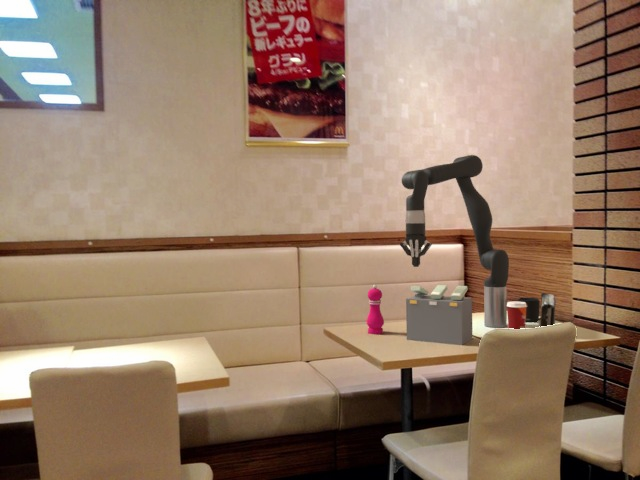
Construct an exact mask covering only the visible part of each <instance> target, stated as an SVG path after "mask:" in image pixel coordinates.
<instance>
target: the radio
mask: <svg viewBox="0 0 640 480" xmlns="http://www.w3.org/2000/svg"><path fill="white" fill-rule="evenodd" d="M540 301H541V304H540V316H539V320H538V322H537V328H538V327H539V326H540V327H541V326H547V325H553V324H555V325H556V317H555V316H556V297H555V296H554V294H551V293H545V292H541V298H540Z"/></svg>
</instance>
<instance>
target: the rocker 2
mask: <svg viewBox="0 0 640 480" xmlns="http://www.w3.org/2000/svg"><path fill="white" fill-rule="evenodd" d="M447 290H448V285H447V284H437V285H436V287H435V288H434V289H433V290H432V291H431V293H430V294H429V295H430V297H431V298H435V299H440V298H441V297H442V296H443V295H445V293H446V292H447Z"/></svg>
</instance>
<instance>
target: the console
mask: <svg viewBox="0 0 640 480" xmlns="http://www.w3.org/2000/svg"><path fill="white" fill-rule="evenodd" d="M405 302H406V303H405V304H406V305H405V307H406V309H405V310H406V311H405V314H406V316H405V317H406V318H405V319H406V340H407V341H417V342H419V341H420V342H427V343H435V344H447V345H456V346H463V345H464V344H467V343H468V342H469V341H471V340H472V339H473V297H465V296H463V297H462V299H461V300H452V299H451V297H450V295H449V296H448V295H445V294H443V296H442V297H441V298H440V299H435V298H431V297H430V294H428V295H424V294H417V293H415V294H414V296H411V297H408V298H406V299H405Z"/></svg>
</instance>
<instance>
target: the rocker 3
mask: <svg viewBox="0 0 640 480" xmlns="http://www.w3.org/2000/svg"><path fill="white" fill-rule="evenodd" d="M467 291H468V286H467V285H457V286H456V287H455V288H454V290H453V292H452V293H451V294H450V295H449V297H451V299H452V300H461V299H462V297H465V294H466V293H467Z"/></svg>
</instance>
